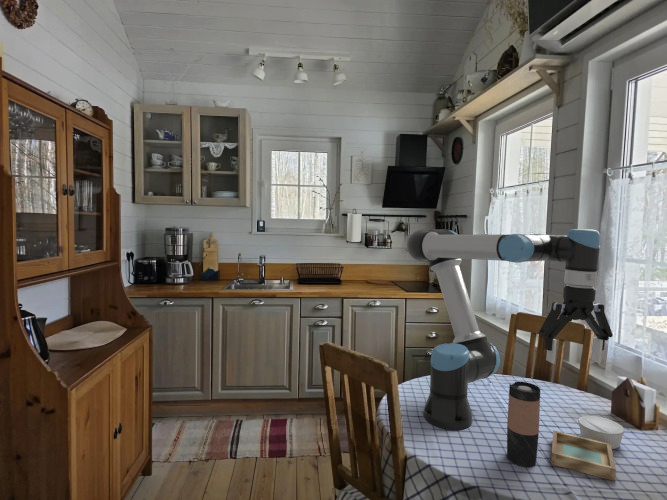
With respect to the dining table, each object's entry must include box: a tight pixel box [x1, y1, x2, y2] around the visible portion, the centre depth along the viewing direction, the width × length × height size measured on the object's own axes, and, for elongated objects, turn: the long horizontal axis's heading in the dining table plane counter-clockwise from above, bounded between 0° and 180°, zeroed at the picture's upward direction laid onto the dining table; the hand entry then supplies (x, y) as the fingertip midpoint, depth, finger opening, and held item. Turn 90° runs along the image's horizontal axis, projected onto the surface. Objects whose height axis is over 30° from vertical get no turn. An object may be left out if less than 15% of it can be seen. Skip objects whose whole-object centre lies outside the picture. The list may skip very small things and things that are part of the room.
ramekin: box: [577, 415, 625, 450], centre depth 119 cm, size 11×11×5 cm
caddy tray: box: [550, 429, 617, 482], centre depth 109 cm, size 14×14×3 cm
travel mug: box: [506, 381, 541, 468], centre depth 108 cm, size 8×8×20 cm
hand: (573, 361), depth 112 cm, fingers open, 13 cm apart
